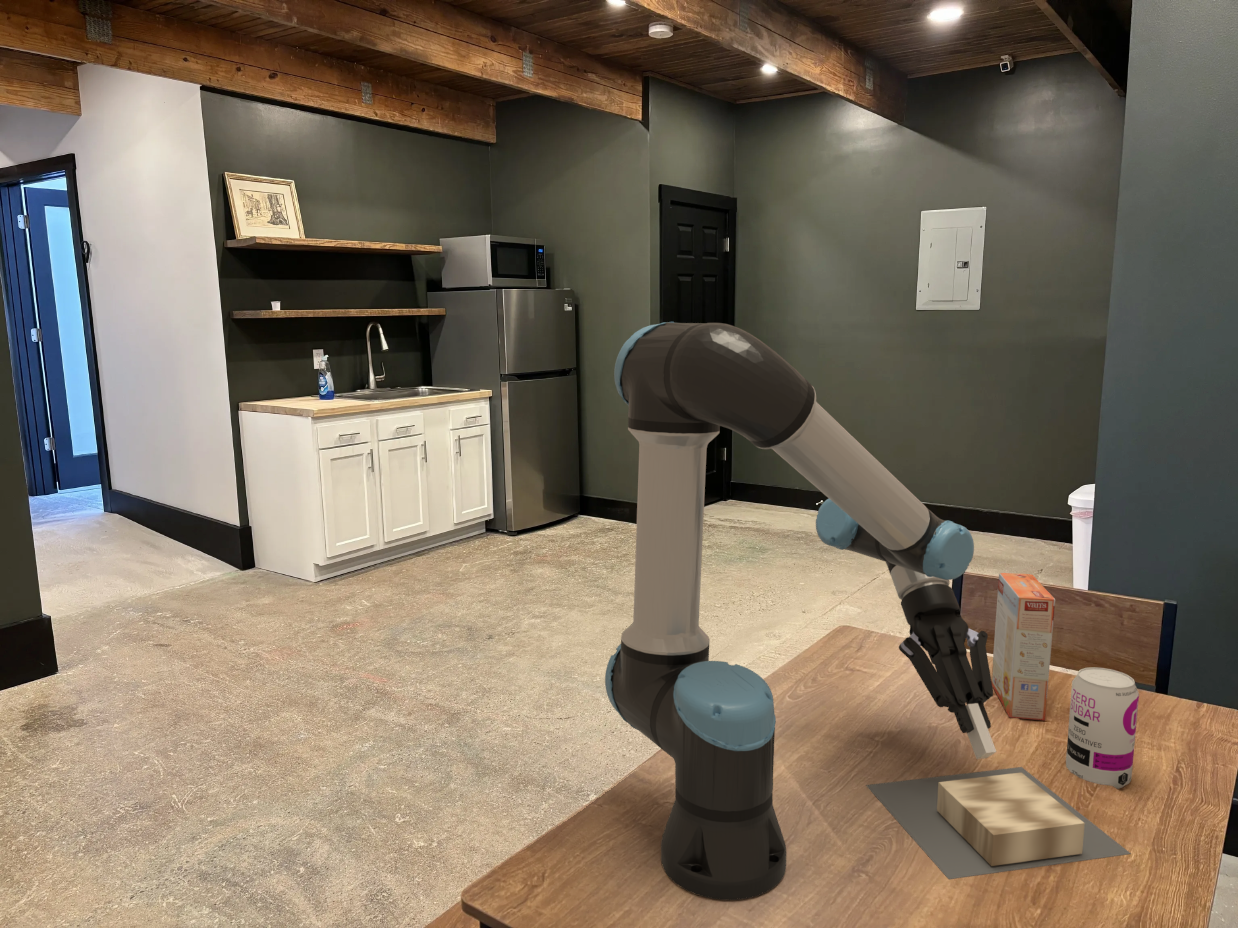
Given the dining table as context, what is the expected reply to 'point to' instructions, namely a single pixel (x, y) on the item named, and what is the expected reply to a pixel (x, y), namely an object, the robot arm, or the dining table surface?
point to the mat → (946, 845)
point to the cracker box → (1022, 645)
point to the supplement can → (1102, 726)
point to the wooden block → (1010, 819)
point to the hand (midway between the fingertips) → (986, 755)
